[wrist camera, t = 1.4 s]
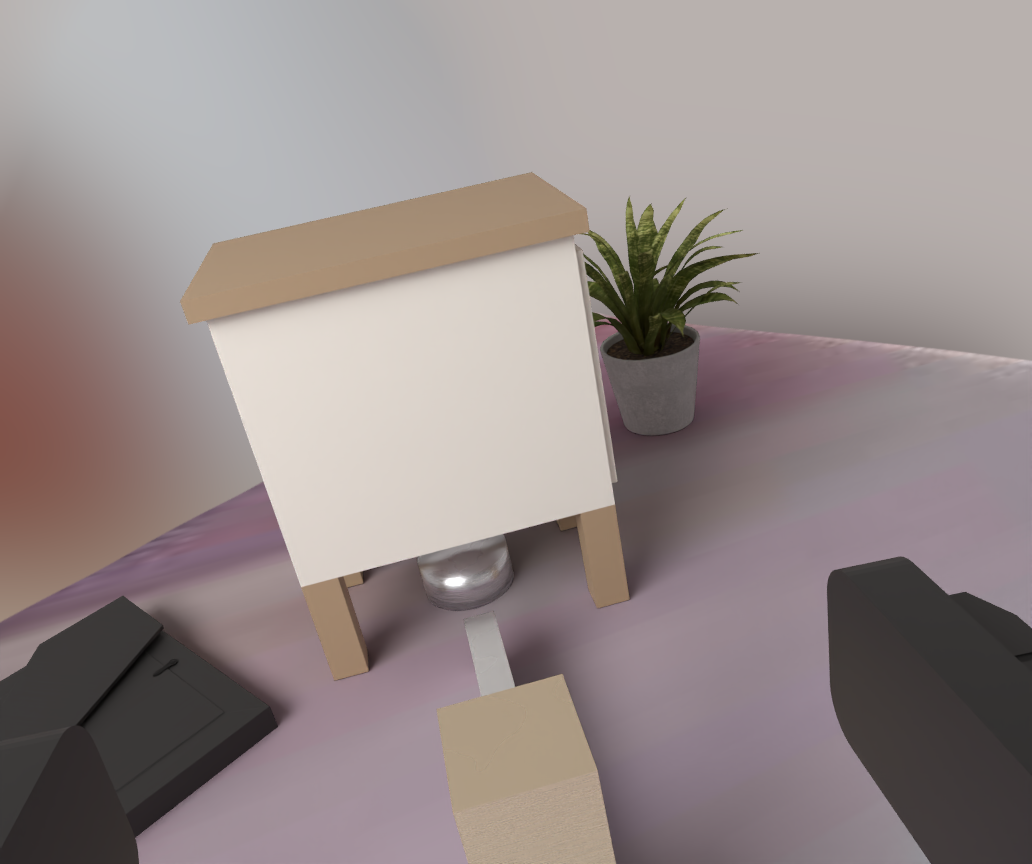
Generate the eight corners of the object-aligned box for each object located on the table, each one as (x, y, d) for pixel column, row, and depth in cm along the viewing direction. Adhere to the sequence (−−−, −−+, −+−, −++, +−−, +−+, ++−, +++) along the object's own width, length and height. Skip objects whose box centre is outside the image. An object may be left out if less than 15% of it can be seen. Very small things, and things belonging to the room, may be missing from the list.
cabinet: (596, 500, 56) (542, 169, 47) (654, 600, 46) (599, 205, 37) (324, 571, 55) (213, 243, 46) (322, 691, 45) (180, 301, 36)
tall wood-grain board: (526, 661, 44) (474, 432, 38) (658, 1080, 26) (597, 770, 21) (458, 680, 44) (395, 452, 38) (545, 1117, 26) (452, 812, 20)
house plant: (645, 499, 55) (611, 248, 48) (519, 439, 66) (476, 227, 59) (793, 414, 62) (782, 181, 55) (657, 372, 73) (633, 173, 66)
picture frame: (139, 632, 54) (-270, 887, 41) (122, 595, 52) (-305, 846, 40) (282, 737, 43) (-207, 1122, 31) (265, 694, 42) (-252, 1077, 29)
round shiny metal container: (505, 549, 54) (498, 516, 53) (522, 598, 49) (514, 563, 48) (422, 571, 53) (413, 538, 52) (431, 622, 48) (421, 587, 47)
